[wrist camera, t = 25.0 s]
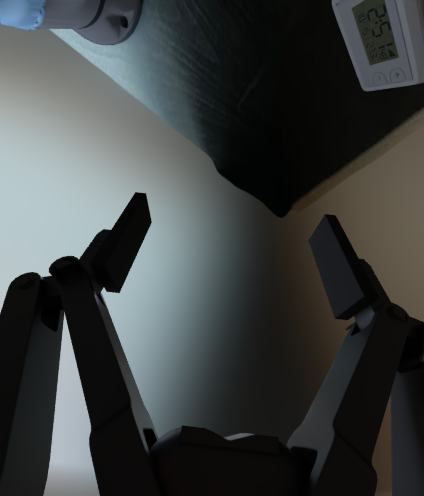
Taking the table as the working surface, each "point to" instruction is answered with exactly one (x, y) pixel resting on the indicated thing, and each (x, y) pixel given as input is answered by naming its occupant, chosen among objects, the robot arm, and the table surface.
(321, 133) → the table surface
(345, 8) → the digital clock
